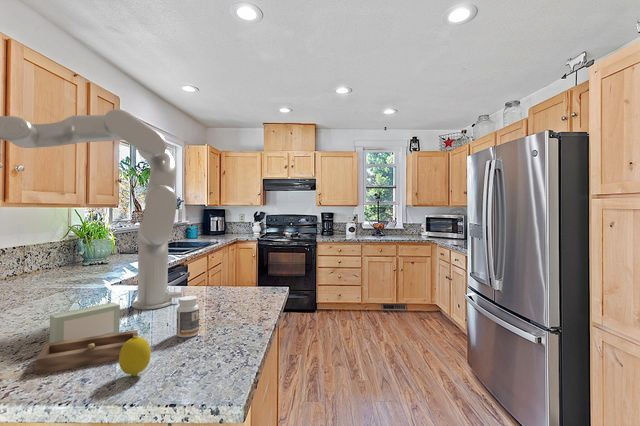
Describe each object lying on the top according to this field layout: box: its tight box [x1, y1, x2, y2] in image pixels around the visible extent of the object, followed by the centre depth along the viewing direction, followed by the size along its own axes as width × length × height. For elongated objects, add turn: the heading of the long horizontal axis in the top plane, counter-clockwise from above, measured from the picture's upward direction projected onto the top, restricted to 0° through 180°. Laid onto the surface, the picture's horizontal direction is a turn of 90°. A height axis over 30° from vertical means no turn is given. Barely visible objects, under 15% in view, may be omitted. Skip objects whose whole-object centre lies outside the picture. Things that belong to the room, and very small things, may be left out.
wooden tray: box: [35, 329, 139, 376], centre depth 74 cm, size 18×10×4 cm, turn 121°
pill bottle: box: [175, 295, 200, 338], centre depth 88 cm, size 6×6×10 cm
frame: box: [48, 302, 121, 343], centre depth 83 cm, size 14×4×8 cm, turn 146°
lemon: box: [118, 335, 152, 377], centre depth 65 cm, size 6×6×8 cm
